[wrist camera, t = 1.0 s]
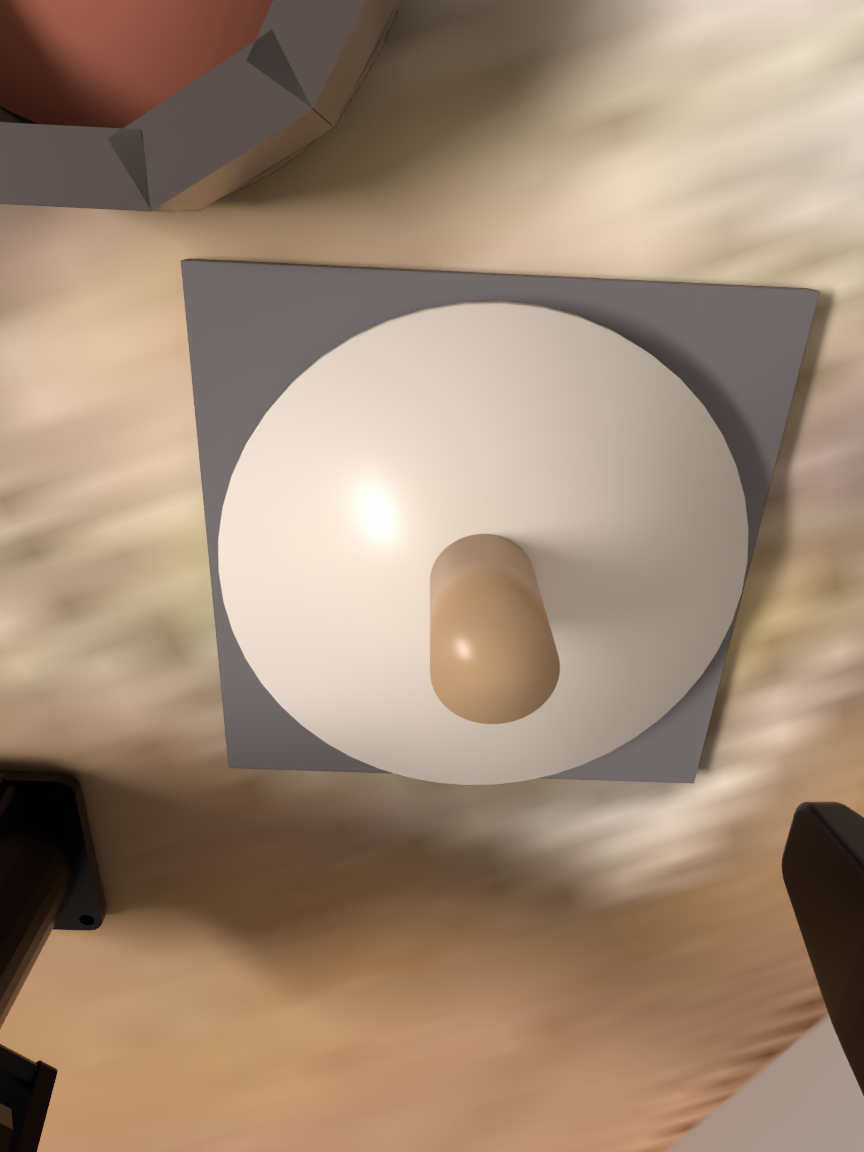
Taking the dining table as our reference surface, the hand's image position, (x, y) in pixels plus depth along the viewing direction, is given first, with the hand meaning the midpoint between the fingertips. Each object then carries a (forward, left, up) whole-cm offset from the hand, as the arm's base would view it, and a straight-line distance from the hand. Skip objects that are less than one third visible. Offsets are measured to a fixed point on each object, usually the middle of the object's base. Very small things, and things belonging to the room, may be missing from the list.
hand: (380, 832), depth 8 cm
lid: (-2, -2, -12) cm, 12 cm away
